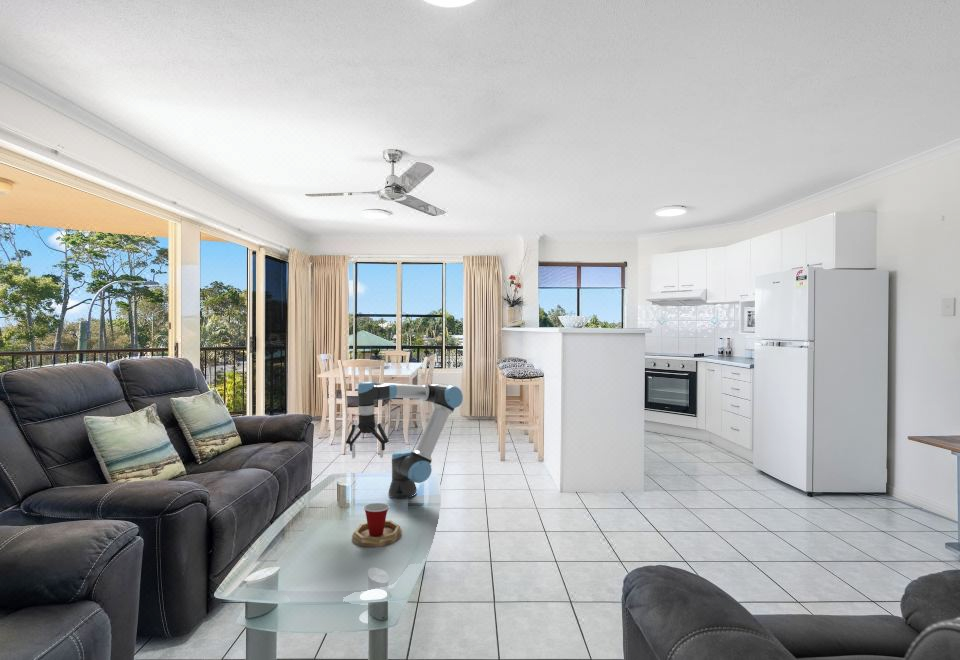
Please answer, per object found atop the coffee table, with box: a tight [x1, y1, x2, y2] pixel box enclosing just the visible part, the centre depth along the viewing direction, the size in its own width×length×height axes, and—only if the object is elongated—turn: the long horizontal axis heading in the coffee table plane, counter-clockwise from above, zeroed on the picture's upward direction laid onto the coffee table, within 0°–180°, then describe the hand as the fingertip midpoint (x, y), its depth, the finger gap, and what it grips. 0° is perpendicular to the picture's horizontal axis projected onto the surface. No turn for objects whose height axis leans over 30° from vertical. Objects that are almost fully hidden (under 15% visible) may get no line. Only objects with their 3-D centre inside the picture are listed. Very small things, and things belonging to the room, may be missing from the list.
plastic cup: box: [363, 502, 390, 537], centre depth 193 cm, size 11×11×12 cm
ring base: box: [351, 519, 403, 548], centre depth 193 cm, size 21×21×3 cm
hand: (367, 457), depth 217 cm, fingers open, 13 cm apart
